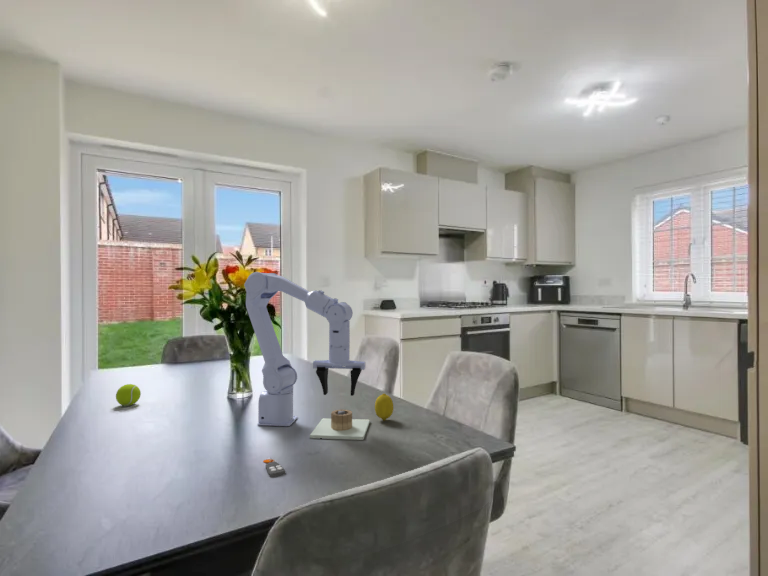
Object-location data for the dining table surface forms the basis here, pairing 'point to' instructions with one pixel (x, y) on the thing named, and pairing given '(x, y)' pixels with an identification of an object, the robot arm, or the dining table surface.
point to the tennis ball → (128, 395)
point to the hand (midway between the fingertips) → (339, 394)
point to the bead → (341, 420)
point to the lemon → (384, 407)
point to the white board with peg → (354, 433)
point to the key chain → (274, 468)
